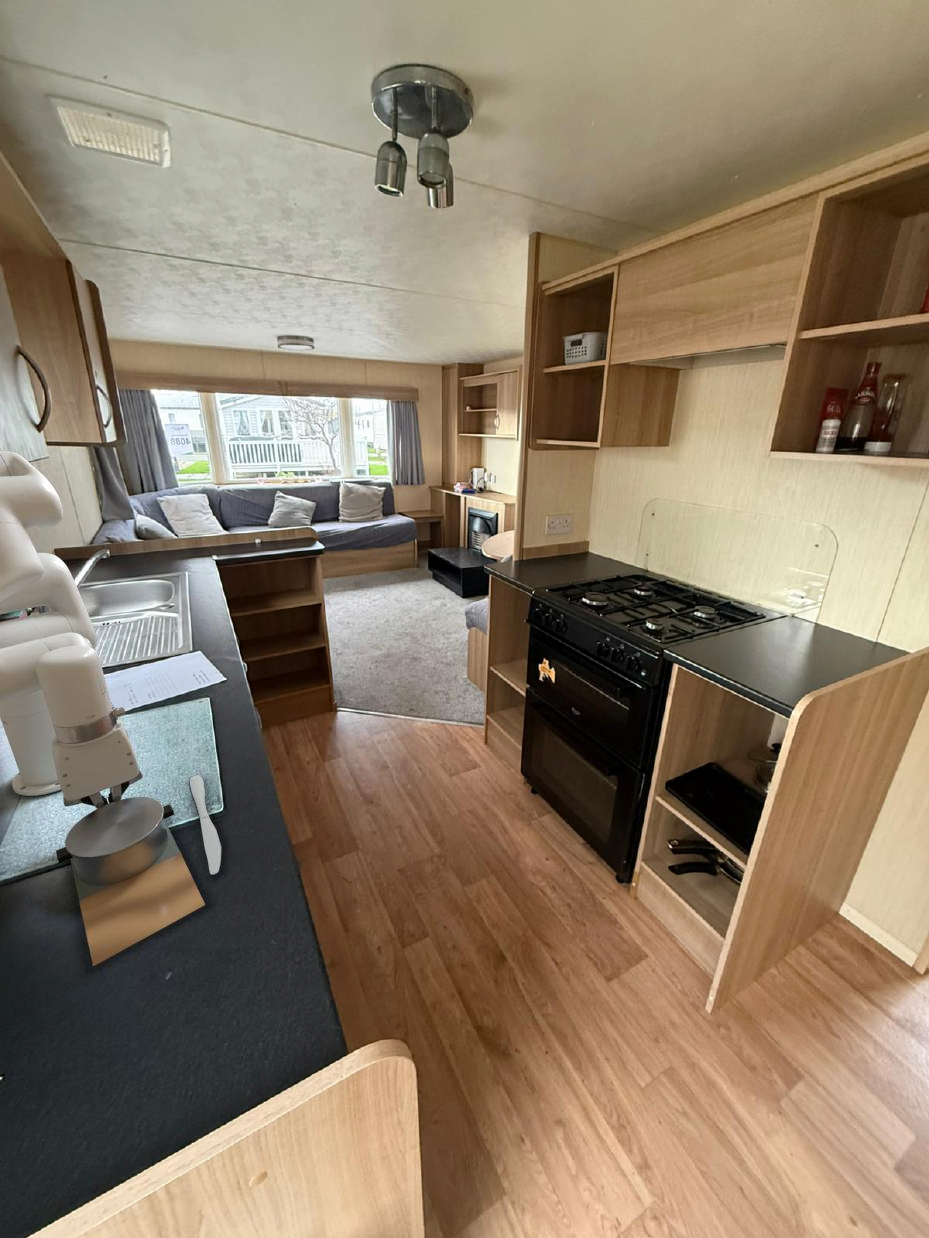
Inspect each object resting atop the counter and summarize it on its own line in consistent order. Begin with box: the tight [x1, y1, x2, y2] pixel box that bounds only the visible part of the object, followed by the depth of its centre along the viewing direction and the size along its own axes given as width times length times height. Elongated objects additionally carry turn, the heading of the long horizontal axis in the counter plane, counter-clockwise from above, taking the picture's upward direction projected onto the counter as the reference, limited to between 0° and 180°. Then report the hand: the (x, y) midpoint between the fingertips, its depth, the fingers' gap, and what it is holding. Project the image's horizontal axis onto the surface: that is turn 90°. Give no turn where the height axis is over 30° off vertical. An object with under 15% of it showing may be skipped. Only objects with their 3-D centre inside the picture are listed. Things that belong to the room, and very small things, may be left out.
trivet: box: [78, 852, 206, 967], centre depth 70 cm, size 12×13×1 cm
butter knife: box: [189, 774, 222, 876], centre depth 86 cm, size 1×27×3 cm
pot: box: [55, 796, 175, 885], centre depth 78 cm, size 13×15×6 cm
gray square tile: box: [69, 819, 181, 902], centre depth 79 cm, size 12×13×1 cm
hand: (113, 819), depth 84 cm, fingers closed
